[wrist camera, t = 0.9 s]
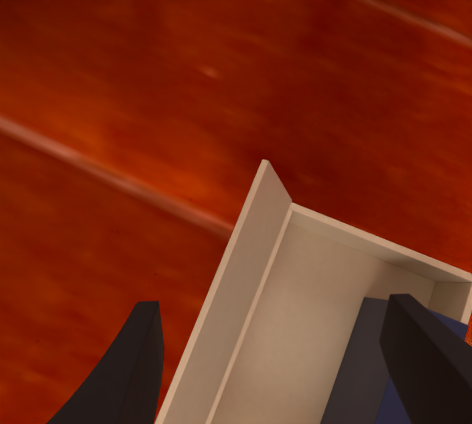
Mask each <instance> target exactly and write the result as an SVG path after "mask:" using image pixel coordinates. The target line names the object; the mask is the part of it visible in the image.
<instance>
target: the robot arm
mask: <svg viewBox="0 0 472 424" xmlns="http://www.w3.org/2000/svg"><path fill="white" fill-rule="evenodd" d="M379 343H380V347H381V350H382V353H383V357H384V360H385V363H386V366H387V369H388V372H389V375H390V377H391V379H392V382H393V384H394V386H395V388H396V391H397V393H398V395H399V397H400V399H401V402H402V404H403V406H404V408H405V410H406V413H407V415H408V417H409V419H410V421H411V424H472V347H471V346H470V345H469V344H467V343H466V342H465V341H464V340H463V339H461V338H460V337H459V336H458V335H457V334H455V333H454V332H453V331H452V330H451V329H450V328H448V327H447V326H446V325H445V324H444V323H443V322H441V321H440V320H439V319H438V318H437V317H436V316H435V315H433V314H432V313H431V312H430V311H429V310H428V309H427V308H425V307H424V306H423V305H422V304H421V303H420V302H419V301H417V300H416V299H415V298H414V297H413V296H412V295H410V294H390V296H389V300H388V305H387V309H386V313H385V317H384V321H383V326H382V330H381V334H380V338H379ZM163 360H164V341H163V333H162V325H161V316H160V308H159V301H144V302H138V303H137V304H136V305H135V306H134V308H133V310H132V312H131V314H130V315H129V317H128V319H127V321H126V322H125V324H124V325H123V327H122V329H121V330H120V332H119V333H118V335H117V337H116V338H115V340H114V341H113V342H112V344H111V345H110V347H109V348H108V350H107V351H106V353H105V354H104V356H103V357H102V358H101V360H100V361H99V362H98V364H97V365H96V366H95V368H94V369H93V370H92V372H91V373H90V374H89V376H88V377H87V378H86V380H85V381H84V382H83V383H82V384H81V386H80V387H79V388H78V389H77V391H76V392H75V393H74V394H73V395H72V396H71V398H70V399H69V400H68V401H67V402H66V403H65V404H64V405H63V407H62V408H61V409H60V410H59V411H58V412H57V413H56V414H55V415H54V416H53V417H52V418H51V419H50V420H49V421H48V422H47V423H46V424H153V423H154V418H155V413H156V408H157V402H158V397H159V392H160V387H161V382H162V372H163Z"/></svg>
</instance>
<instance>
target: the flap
mask: <svg viewBox="0 0 472 424" xmlns="http://www.w3.org/2000/svg"><path fill="white" fill-rule="evenodd" d="M291 202H292V199H291V198H290V196H289V194H288V193H287V191H286V189H285V188H284V186H283V184H282V183H281V181H280V179H279V178H278V176H277V174H276V173H275V171H274V169H273V167H272V166H271V164H270V162H269V161H267V160H262V162H261V164H260V167H259V169H258V172H257V174H256V176H255V179H254V181H253V184H252V186H251V189H250V191H249V194H248V196H247V199H246V201H245V203H244V206H243V208H242V211H241V213H240V216H239V218H238V221H237V223H236V226H235V228H234V230H233V233H232V235H231V238H230V240H229V243H228V245H227V248H226V250H225V253H224V255H223V258H222V260H221V262H220V265H219V267H218V270H217V272H216V275H215V277H214V280H213V282H212V285H211V287H210V289H209V292H208V294H207V297H206V299H205V302H204V304H203V307H202V309H201V312H200V314H199V316H198V319H197V321H196V324H195V326H194V329H193V331H192V334H191V336H190V339H189V341H188V344H187V346H186V348H185V351H184V353H183V356H182V358H181V361H180V363H179V366H178V368H177V371H176V373H175V375H174V378H173V380H172V383H171V385H170V388H169V390H168V393H167V395H166V398H165V400H164V402H163V405H162V407H161V410H160V412H159V415H158V417H157V420H156V422H155V424H205V423H206V421H207V418H208V416H209V413H210V410H211V408H212V405H213V403H214V400H215V398H216V395H217V392H218V390H219V387H220V385H221V382H222V380H223V377H224V374H225V372H226V369H227V367H228V364H229V362H230V359H231V356H232V354H233V351H234V349H235V346H236V344H237V341H238V338H239V336H240V333H241V331H242V328H243V325H244V323H245V320H246V318H247V315H248V313H249V310H250V307H251V305H252V302H253V300H254V297H255V295H256V292H257V289H258V287H259V284H260V282H261V279H262V277H263V274H264V271H265V269H266V266H267V264H268V261H269V259H270V256H271V253H272V251H273V248H274V246H275V243H276V241H277V238H278V235H279V233H280V230H281V228H282V225H283V222H284V220H285V217H286V215H287V212H288V210H289V207H290V204H291Z"/></svg>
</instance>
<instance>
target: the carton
mask: <svg viewBox="0 0 472 424" xmlns="http://www.w3.org/2000/svg"><path fill="white" fill-rule="evenodd" d="M390 294H410V295H412V296H413V297H414V298H415V299H416V300H417V301H419V302H420V303H421V304H422V305H423V306H424V307H425V308H427V309H430V310H432V311H435V312H437V313H440V314H442V315H444V316H447V317H449V318H452V319H454V320H457V321H459V322H462V323H464V324H467V325H468V322H469V318H470V315H471V312H472V274H471V273H468V272H466V271H463V270H461V269H458V268H456V267H453V266H451V265H448V264H446V263H443V262H441V261H438V260H436V259H433V258H431V257H428V256H426V255H423V254H420V253H418V252H415V251H413V250H410V249H408V248H405V247H403V246H400V245H398V244H395V243H393V242H390V241H388V240H385V239H383V238H380V237H378V236H375V235H373V234H370V233H368V232H365V231H363V230H360V229H358V228H355V227H353V226H350V225H348V224H345V223H342V222H340V221H337V220H335V219H332V218H330V217H327V216H325V215H322V214H320V213H317V212H315V211H312V210H310V209H307V208H305V207H302V206H300V205H297V204H295V203H292V202H291V204H290V207H289V210H288V212H287V215H286V217H285V220H284V222H283V225H282V228H281V230H280V233H279V235H278V238H277V241H276V243H275V246H274V248H273V251H272V253H271V256H270V259H269V261H268V264H267V266H266V269H265V271H264V274H263V277H262V279H261V282H260V284H259V287H258V289H257V292H256V295H255V297H254V300H253V302H252V305H251V307H250V310H249V313H248V315H247V318H246V320H245V323H244V325H243V328H242V331H241V333H240V336H239V338H238V341H237V344H236V346H235V349H234V351H233V354H232V356H231V359H230V362H229V364H228V367H227V369H226V372H225V374H224V377H223V380H222V382H221V385H220V387H219V390H218V392H217V395H216V398H215V400H214V403H213V405H212V408H211V410H210V413H209V416H208V418H207V421H206V423H205V424H320V423H321V420H322V417H323V414H324V411H325V408H326V405H327V402H328V399H329V397H330V394H331V391H332V388H333V385H334V382H335V379H336V376H337V373H338V371H339V368H340V365H341V362H342V359H343V356H344V353H345V350H346V347H347V345H348V342H349V339H350V336H351V333H352V330H353V327H354V324H355V321H356V319H357V316H358V313H359V310H360V307H361V304H362V301H363V298H364V297H369V298H376V299H384V300H389V296H390Z"/></svg>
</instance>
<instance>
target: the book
mask: <svg viewBox="0 0 472 424" xmlns="http://www.w3.org/2000/svg"><path fill="white" fill-rule="evenodd" d="M387 305H388V300H384V299H376V298H369V297H364V298H363V301H362V304H361V307H360V310H359V313H358V316H357V319H356V321H355V324H354V327H353V330H352V333H351V336H350V339H349V342H348V345H347V347H346V350H345V353H344V356H343V359H342V362H341V365H340V368H339V371H338V373H337V376H336V379H335V382H334V385H333V388H332V391H331V394H330V397H329V399H328V402H327V405H326V408H325V411H324V414H323V417H322V420H321V423H320V424H411V421H410V419H409V417H408V415H407V413H406V410H405V408H404V406H403V404H402V402H401V399H400V397H399V395H398V393H397V391H396V388H395V386H394V384H393V382H392V379H391V377H390V375H389V372H388V369H387V366H386V363H385V360H384V357H383V353H382V350H381V347H380V343H379V338H380V334H381V330H382V326H383V321H384V317H385V313H386V309H387ZM428 310H429V311H430V312H431V313H432V314H433V315H435V316H436V317H437V318H438V319H439V320H440V321H441V322H443V323H444V324H445V325H446V326H447V327H448V328H450V329H451V330H452V331H453V332H454V333H455V334H457V335H458V336H459V337H460V338H461V339H463V340H465V336H466V333H467V330H468V325H467V324H464V323H462V322H459V321H457V320H454V319H452V318H449V317H447V316H444V315H442V314H440V313H437V312H435V311H432V310H430V309H428Z"/></svg>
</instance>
